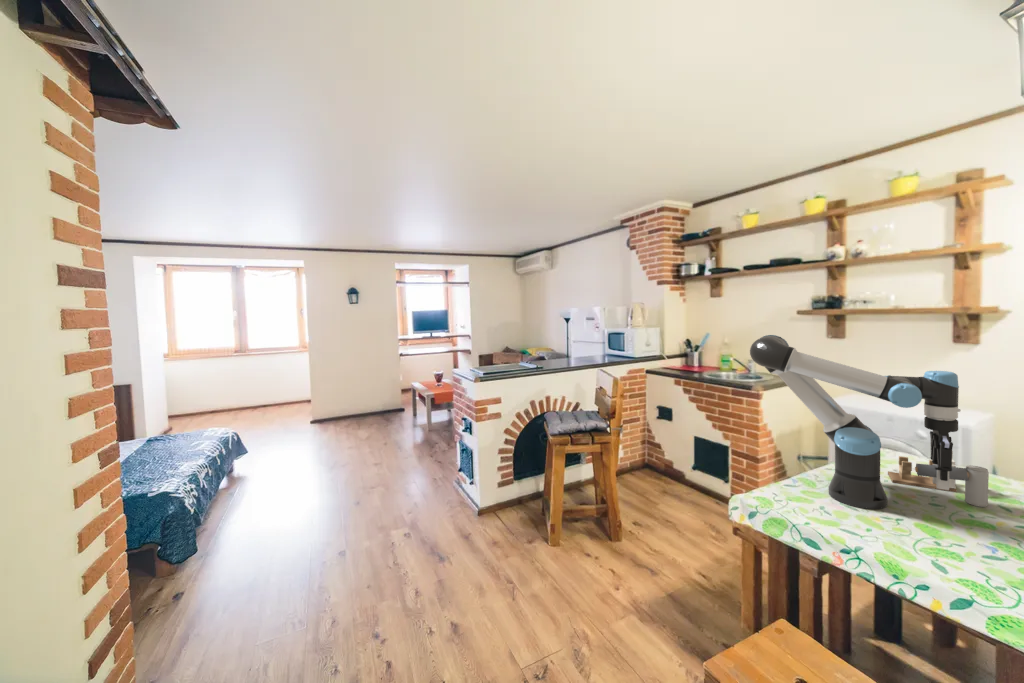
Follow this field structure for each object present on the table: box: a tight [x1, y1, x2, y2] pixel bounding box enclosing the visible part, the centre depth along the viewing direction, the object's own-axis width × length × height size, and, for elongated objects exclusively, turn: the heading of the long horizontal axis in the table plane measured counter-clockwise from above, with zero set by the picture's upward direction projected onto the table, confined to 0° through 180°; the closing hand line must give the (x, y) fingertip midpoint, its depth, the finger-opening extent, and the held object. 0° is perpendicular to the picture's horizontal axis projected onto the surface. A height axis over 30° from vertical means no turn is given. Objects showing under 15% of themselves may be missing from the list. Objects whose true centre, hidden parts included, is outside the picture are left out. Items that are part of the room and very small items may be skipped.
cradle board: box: [887, 455, 958, 493], centre depth 141 cm, size 16×9×8 cm, turn 54°
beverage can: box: [964, 464, 990, 508], centre depth 125 cm, size 5×5×12 cm
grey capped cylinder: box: [914, 463, 969, 482], centre depth 128 cm, size 12×4×4 cm, turn 54°
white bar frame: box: [949, 450, 957, 489], centre depth 137 cm, size 2×9×12 cm, turn 143°
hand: (940, 486), depth 129 cm, fingers closed on grey capped cylinder, 4 cm apart
